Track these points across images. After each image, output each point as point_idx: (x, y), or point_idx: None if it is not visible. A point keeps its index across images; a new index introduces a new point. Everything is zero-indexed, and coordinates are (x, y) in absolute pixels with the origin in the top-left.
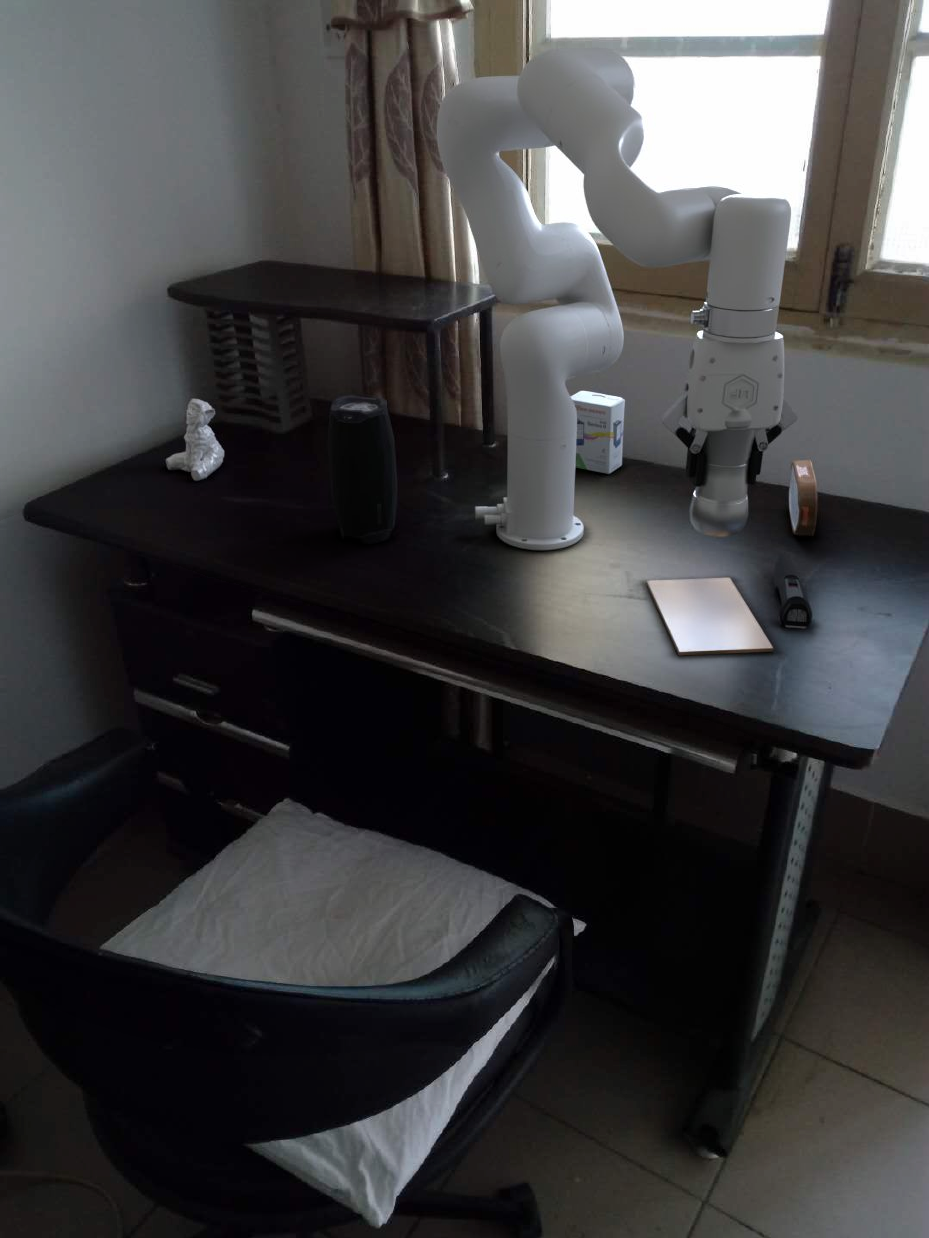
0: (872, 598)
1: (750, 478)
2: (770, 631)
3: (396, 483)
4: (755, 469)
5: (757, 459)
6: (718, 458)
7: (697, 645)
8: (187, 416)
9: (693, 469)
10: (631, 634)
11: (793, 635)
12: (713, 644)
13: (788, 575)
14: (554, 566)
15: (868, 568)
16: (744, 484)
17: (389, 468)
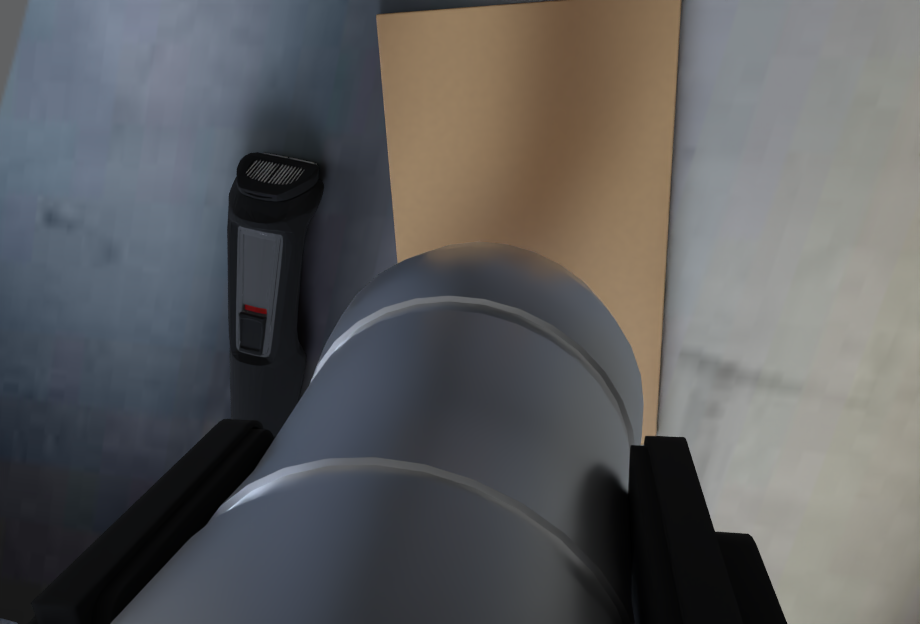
0: (77, 304)
1: (241, 448)
2: (362, 142)
3: None
4: (168, 482)
5: (100, 547)
6: (511, 566)
7: (608, 35)
8: None
9: (728, 573)
10: (797, 141)
11: (303, 116)
12: (555, 40)
13: (256, 364)
14: (909, 570)
15: (69, 448)
16: (301, 403)
17: None
